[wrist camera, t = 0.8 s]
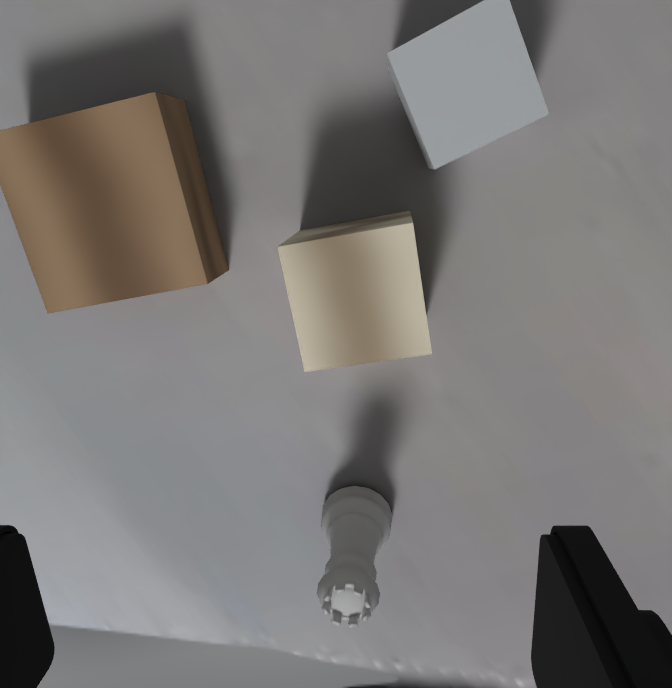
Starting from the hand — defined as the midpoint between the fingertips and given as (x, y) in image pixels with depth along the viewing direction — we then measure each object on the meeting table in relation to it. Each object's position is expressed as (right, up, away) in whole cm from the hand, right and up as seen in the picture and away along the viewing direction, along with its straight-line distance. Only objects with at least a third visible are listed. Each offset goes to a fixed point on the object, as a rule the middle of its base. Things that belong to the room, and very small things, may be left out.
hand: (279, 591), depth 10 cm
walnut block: (-10, +12, +21) cm, 26 cm away
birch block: (+3, +8, +21) cm, 22 cm away
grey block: (+7, +17, +17) cm, 25 cm away
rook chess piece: (+2, -6, +25) cm, 26 cm away
